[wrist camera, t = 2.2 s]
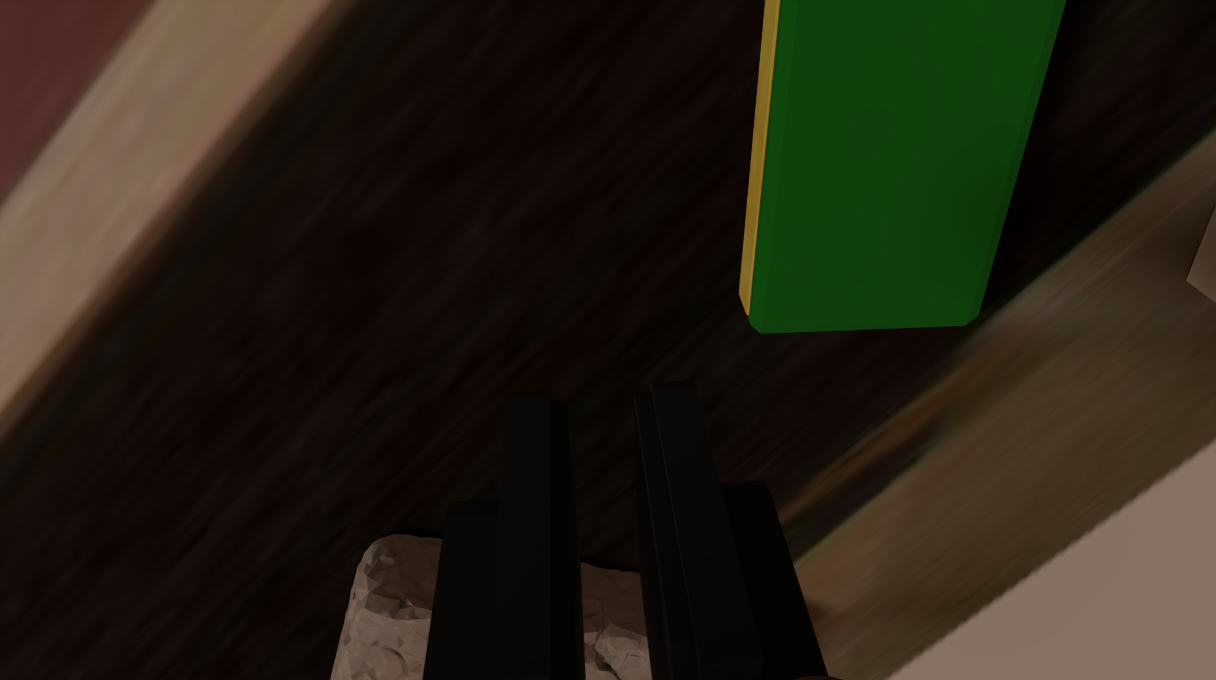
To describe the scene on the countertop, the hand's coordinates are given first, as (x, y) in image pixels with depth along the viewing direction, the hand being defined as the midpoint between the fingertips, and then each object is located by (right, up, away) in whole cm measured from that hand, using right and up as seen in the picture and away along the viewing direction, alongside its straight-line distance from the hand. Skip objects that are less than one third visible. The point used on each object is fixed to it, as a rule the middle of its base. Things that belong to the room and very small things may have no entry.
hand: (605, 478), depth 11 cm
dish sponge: (+8, +9, +13) cm, 18 cm away
